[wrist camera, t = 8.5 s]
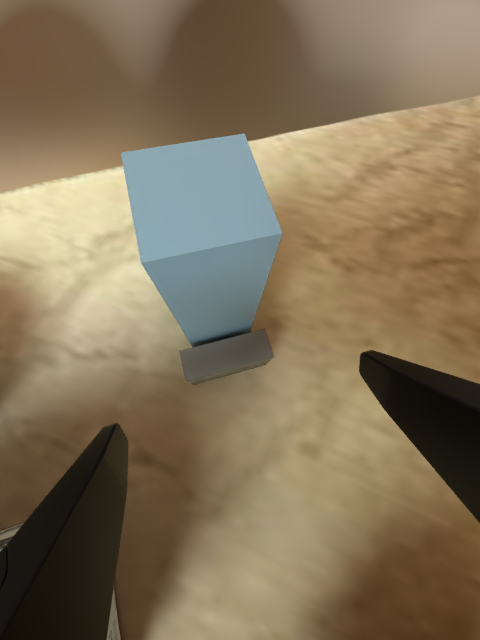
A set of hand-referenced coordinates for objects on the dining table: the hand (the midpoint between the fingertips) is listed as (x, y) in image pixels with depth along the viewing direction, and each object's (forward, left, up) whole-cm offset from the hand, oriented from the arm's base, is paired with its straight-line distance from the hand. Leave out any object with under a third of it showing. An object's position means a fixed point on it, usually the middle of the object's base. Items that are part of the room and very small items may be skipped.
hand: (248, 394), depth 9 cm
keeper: (+4, +5, -10) cm, 12 cm away
